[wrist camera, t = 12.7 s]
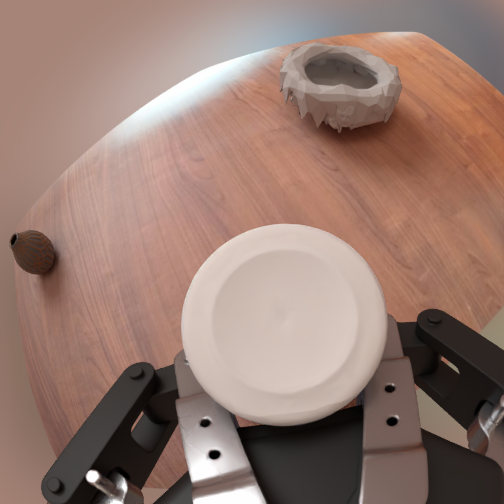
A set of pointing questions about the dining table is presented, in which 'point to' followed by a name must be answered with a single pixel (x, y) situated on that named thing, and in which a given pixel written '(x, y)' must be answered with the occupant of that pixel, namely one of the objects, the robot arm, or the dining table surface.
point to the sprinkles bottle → (284, 324)
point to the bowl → (340, 85)
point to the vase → (32, 251)
